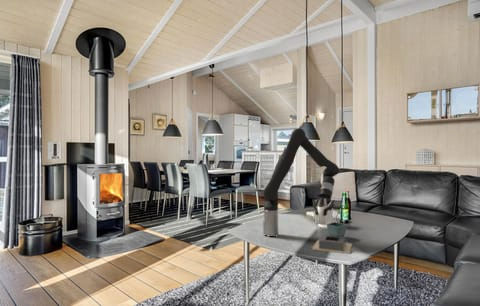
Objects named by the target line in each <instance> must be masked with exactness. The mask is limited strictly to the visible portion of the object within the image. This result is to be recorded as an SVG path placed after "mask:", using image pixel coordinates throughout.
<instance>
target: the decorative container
mask: <svg viewBox="0 0 480 306" xmlns="http://www.w3.org/2000/svg"><path fill="white" fill-rule="evenodd" d="M330 204H331V202H330V203H329V204H328V207H329V205H330ZM324 207H325V206H324ZM333 209H334V207H333V208H332V209H331V210H328V211H327V215H325V224H324V225H321V224H318V223H317V227H318V226H319V227H318V228H320V227H321V228H320V229H327V224H330V223H334V220H333V219H334V215H333V214H334V210H333Z"/></svg>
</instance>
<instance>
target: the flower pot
mask: <svg viewBox="0 0 480 306" xmlns="http://www.w3.org/2000/svg"><path fill="white" fill-rule="evenodd" d="M346 228H347V223H346V224H345V223H340V222H335V221H333V223H330V224H327V228H326V230H327V233H328V235H330V236H340V237H345V234H346V231H347V229H346Z"/></svg>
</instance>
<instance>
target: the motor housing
mask: <svg viewBox="0 0 480 306" xmlns="http://www.w3.org/2000/svg"><path fill="white" fill-rule="evenodd" d="M352 247H353V243H347V242H346V236H344V237H340V236H330V235H329V234H322V235H321V237H320V238H319V239H317V240H316V242H315V243H314V245H313V246H312V247H311V249H312V250H313V251H320V252H321V251H323V252H329V253H340V254H347V255H348V254H349V255H351V251H352Z"/></svg>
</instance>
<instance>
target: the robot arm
mask: <svg viewBox="0 0 480 306" xmlns="http://www.w3.org/2000/svg"><path fill="white" fill-rule="evenodd" d="M290 134H291V135H290V137H289V140H288V142H287V145H286V147H285V149H284V150H283V151H282V153H281V155H280V157H279V158H278V161H277V162H276V165H275V166H274V169H273V173H272V175H271V178H270V179H269V182H268V183H267V185H266V186H265V187H264V189H263V192H262V194H263V197H264V198H263V199H264V202H263V203H264V204H263V214H264V215H263V217H264V218H263V223H262V225H263V226H262V227H263V229H262V230H263V235H264V234H265V235H269V236H276V235H278V236H279V192H278V191H279V189H280V188H281V187H280V186H281V184H282V183H283V181H284V180H285V178H286V176H287V175H288V174H289V172H290V170H291V167H292V165H293V164H294V161H295V158H296V156H297V152H298V151H299V148H300V147H301V148H302V149H303V150H304V151H305V152H306V153H307V155H308V156H309V157H310V158H311V159H312V160H313V162H314V163H315V164H316V165H317V166H318V167H319V168H322V167H324V170H323V171H322V181H321V182H322V184H321V186H320V188H319V193H318V196H317V198H316V199H314V198H312V207H313V209H314V214H315V216H317V217H318V206H319V204H320V198H321V199H322V204H323V206H325V209H324V213H323V215H324V216H325V215H327V211H328V210H331V209H332V208H333V209H334V206H335V205H336V202H335V200H334V199H333V200H332V196H333V193H334V185H335V178H334V177H335V176H336V175H338V174H339V173H340V168H339V166H338V165H337V164H336V163H334V162H333V161H331V160H330V159H328V158H327V157H326V156H325V154H323V153H322V151H320V150H319V149H318V148H317V147H316V146H315V145H313V143H312V142H311V141H310V140H309V138H308V137H307V135H306V132H305V130H304V129H303V128H294V129H293V130H292V132H291V133H290ZM330 202H331V204H330V205H329V207H328V204H329V203H330ZM333 209H332V210H333ZM276 237H277V236H276Z"/></svg>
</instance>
